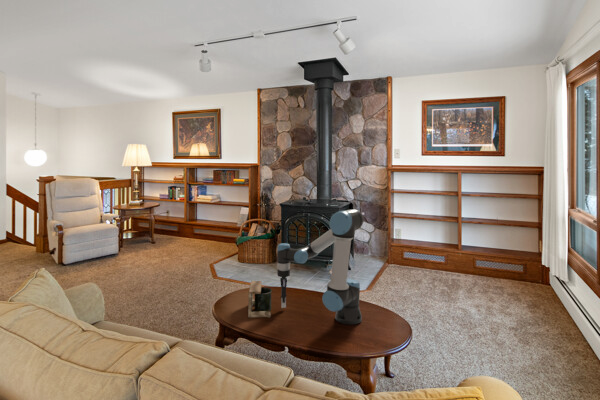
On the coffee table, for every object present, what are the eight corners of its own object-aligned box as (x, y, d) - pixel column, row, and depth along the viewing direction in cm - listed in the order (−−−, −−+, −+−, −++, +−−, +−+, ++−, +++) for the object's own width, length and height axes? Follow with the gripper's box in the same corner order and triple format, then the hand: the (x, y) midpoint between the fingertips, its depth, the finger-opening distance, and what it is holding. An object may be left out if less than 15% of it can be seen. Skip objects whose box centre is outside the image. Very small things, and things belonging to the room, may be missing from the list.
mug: (273, 306, 223) (273, 287, 222) (268, 316, 208) (268, 296, 207) (256, 305, 224) (256, 286, 223) (250, 314, 210) (250, 295, 209)
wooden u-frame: (270, 303, 228) (270, 280, 226) (270, 317, 206) (270, 292, 205) (250, 303, 227) (250, 280, 225) (248, 318, 205) (248, 292, 204)
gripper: (277, 266, 221) (277, 303, 223) (277, 272, 208) (277, 311, 210) (289, 266, 222) (289, 303, 224) (290, 272, 209) (290, 311, 211)
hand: (283, 307), depth 217 cm, fingers closed
